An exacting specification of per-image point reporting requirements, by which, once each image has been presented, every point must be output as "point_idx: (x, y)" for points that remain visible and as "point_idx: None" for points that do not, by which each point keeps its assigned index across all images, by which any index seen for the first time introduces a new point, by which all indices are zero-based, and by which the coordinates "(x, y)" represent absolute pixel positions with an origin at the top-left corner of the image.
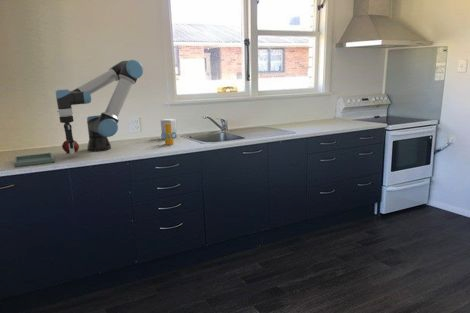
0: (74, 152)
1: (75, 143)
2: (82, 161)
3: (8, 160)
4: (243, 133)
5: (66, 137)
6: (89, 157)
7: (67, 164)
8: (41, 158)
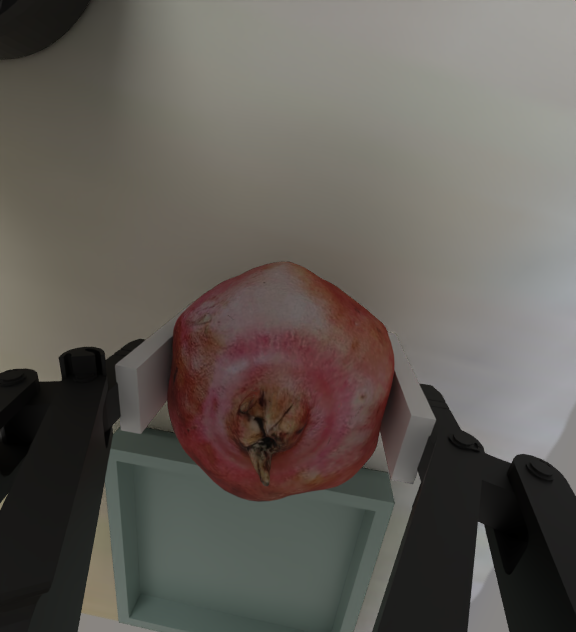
0: (397, 341)
1: (370, 355)
2: (567, 292)
3: (101, 605)
4: None
5: (103, 482)
6: (424, 166)
7: (560, 426)
8: (190, 502)
